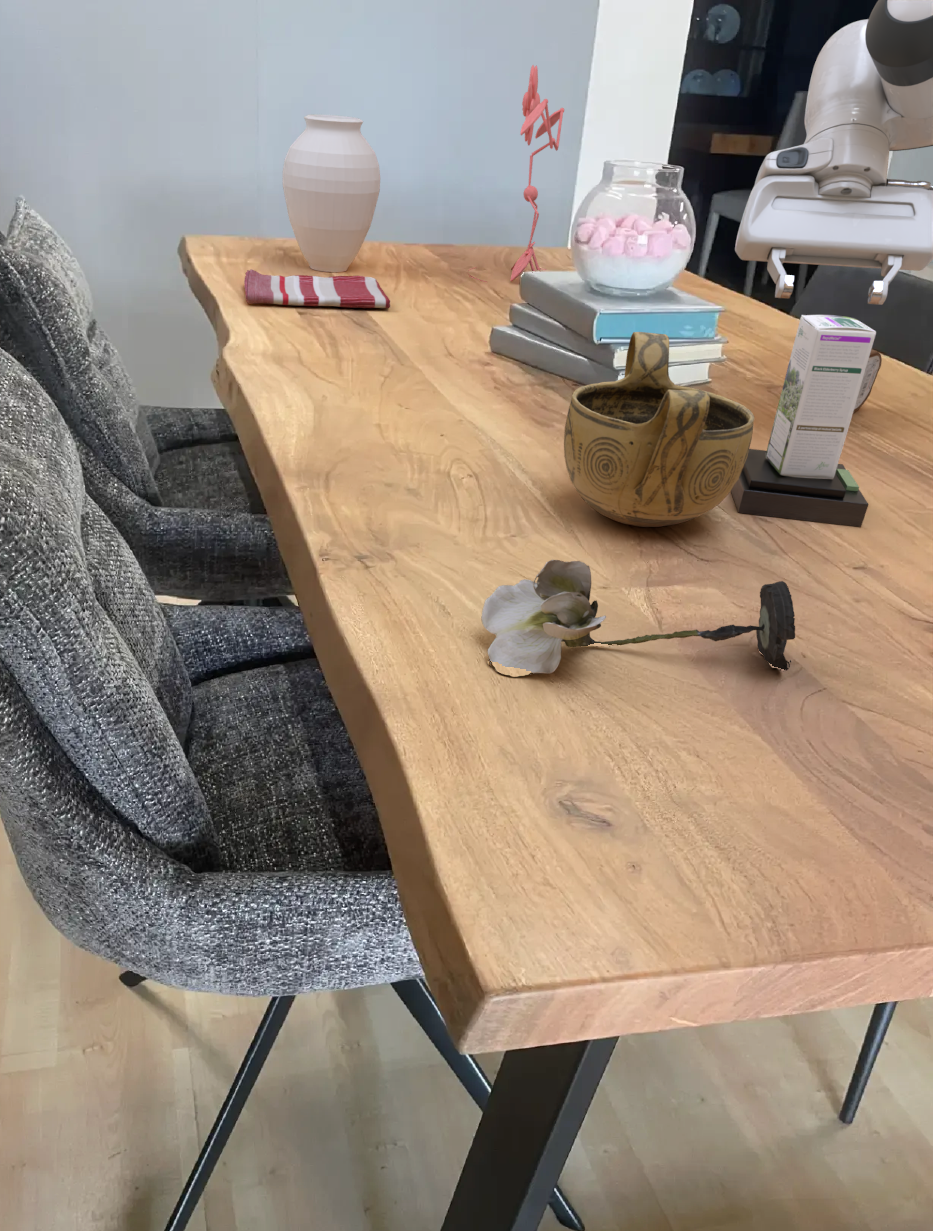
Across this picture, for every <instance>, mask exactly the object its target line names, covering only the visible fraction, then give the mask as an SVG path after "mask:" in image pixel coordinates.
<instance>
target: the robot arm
mask: <svg viewBox="0 0 933 1231" xmlns="http://www.w3.org/2000/svg"><path fill="white" fill-rule="evenodd" d="M814 62H815V63H814V65H813V68H812V73H811V77H810V81H809V85H808V91H807V96H806V103H805V110H804V111H805V112H804V128H805V132H806V137H805V140H804V142H803V144H799V145H796V146H792V147H788V148H783V149H778V150H774V151H771V152H769V153H768V154H766V156H765V157H764V159H763V161H762V163H761V165H760V167H759V170H758V172H757V175H756V178H755V181H754V185H753V187H752V190H751V191H750V194H749V197H748V199H747V201H746V204H745V208H744V210H743V213H742V217H741V220H740V224H739V227H738V231H737V235H736V240H735V247H734V252H735V253H736V255H737V256H738V258H739V259H740V260H742V261H750V262H751V261H754V262H767V264H766V265H767V267H766V269H767V272H768V274H769V276H770V278H771V279H772V281H773V282H774V285H775V292H774V298H778V299H790V298H791V295H792V294H793V291H794V282H795V275H792V274H791V275H790V274H787V271H786V270H785V268H784V265H783V264H784V263H786V264H801V265H819V266H833V267H836V266H837V267H850V268H865V269H880V270H881V273H880V276H881V277H883V279H882V280H873V281H872V283H871V286H870V287H869V288H868V291H867V292H868V293H867V294H868V295H867V296H868V298H867V304H868V305H879V306H880V305H881V306H883V305H884V303H885V302H886V300H887V298H888V291H889V285H890V284H891V282H893V280H894V279H895V278H896V276H897V275H898V273H899V271H900V270H901V271H916V272H918V271H922V270H924V269H925V268H926V267H927V266H929V265H930V263H931V262H932V261H933V185H932V184H931V182H930V181H927V180H917V181H915V180H914V181H913V180H905V179H898V178H897V179H895V178H888V170H889V158H890V152H896V151H897V152H901V151H909V150H916V149H923V148H930V147H933V0H877V1H876V3H875V5H874V7H873V9H872V10H871V12H870V15H869V17H868V18H867V19H860V20H857V21H853V22H851V23H848V24H847V25H844V26H843V27H841V28H840V29H839V30H837V31H836V32H834V33H833V34H832V35H831V36H830V37H829V38H828V40H826V42H825V44H824V45H823V47H822V48H821V50H820V51H819V53H818V55H817V57H816V61H814Z"/></svg>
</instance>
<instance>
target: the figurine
mask: <svg viewBox="0 0 933 1231" xmlns="http://www.w3.org/2000/svg"><path fill="white" fill-rule="evenodd" d="M538 69H539V68H538V66H537V65H534V64H532V65H531V67H530V73H529V78H528V79H529V80H528V87H527V91H526V92H525V93H524V94H523V98H522V103H521V105H522V109H521V110H522V115H523V117H525V119H524V122H523V124H522V126H521V129H520V134H519V135H520V136H523V135H524V142H525V143H527V146H530V145H531V144H532V139H533V134H534V127H535V125H534V124H535V123H536V122H537V121H538V120H539V118H541V119H542V123H541V124H540V126H539V127H538V129H537V131H536V132H535V133H536V134H535V136H534V138H535V139H538V138H540V137H541V136H542V135H544V134H545V133H546V134H547V135H548V143H545V144H543V146H541V147H539V148H537V149H536V150H534V151H533V152H531V154H530V155H529V169H528V172H529V173H528V185H527V186H526V188H524V190H523V198H524V200H525V201H526V202H528V203H530V204H531V206H532V208H533V211H534V214H533V219H532V226H531V230H530V237H529V241H528V244H527V249H526V250H525V251H524V252H523V253H522V254H521V255H520V256H519V258H518V259H517V260H516V261H515V263H514V264H513V265H512V267H511V268H510V270H511V276H510V280H509V281H510V282H511V283H512V282H513V281H514V280H516V279H517V278H518V277H519V276H521V274H522V273H523V272H524V271H525V269H527V267H528V265H529V266H530V268H531V272H532V271H535V272H536V271H537V270H540V271H541V270H544V271H546V270H547V268H541V267H539V266H540V265H539V263H538V260H537V256H536V254H535V250H534V245H535V244H536V242H535V241H533V237H534V234H535V230H536V227H537V224H538V220H539V216H540V213H539V211H538V204H537V203H536V200H537V199H538V196H539V193H538V192H539V191H538V189H537V187H536V186H534V185H532V173H533V161H534V156H536V155H537V154H539V153H540V152H541V151H543V150H544V149H546V148H548V147H549V148H550V150H552V149H553V148H554V150H555V151H556V152H557V151H558V150H559V146H560V139H561V130H562V125H563V117H564V112H565V108H564V107H560V108H559V109H558V110H556V111H554V112H552V114H550V112H549V106H548V104H549V99H548V98H544V99H543V101H541V96H540V94H539V92H538V88H539V75H538V74H539V70H538ZM544 111H545V112H544ZM557 123H558V129H557V135H556V139H555V138H554V137H553V135H552V128H553V127H554V126H555V125H556V124H557ZM532 241H533V242H532ZM532 259H533V260H532ZM477 268H478V267H477V266H476V267H475V266H474V267H472V268H470V269H468V271H467V272H469V271H471V270H473V269H477ZM467 275H468V278H472V279H474V280H478V281H481V282H483V283H484V282H485V283H487V280H482V279H479V278H477V277H474V276H472V275H471V274H469V273H467Z"/></svg>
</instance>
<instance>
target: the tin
mask: <svg viewBox="0 0 933 1231" xmlns="http://www.w3.org/2000/svg"><path fill="white" fill-rule="evenodd" d="M882 361H883V359H882V355H881V353H880V352H879V351H878V350H875V349H873V348H872V349H871V352H870V356H869V359H868V363H867V366H866V369H865V373H864V376H863V380H862V383H861V387H860V390H859V394H858V397H857V401H856V404H855V408H854V411H853V414H854V413H856V412H857V411H858V410H860V409H861V407H862V406H864V404H865V403H866V401H867V400H868V398H869V397H870V395H871V392H872V389H873V386H874V384H875V381H876V379H877V376H878V374H879V371H880V369H881V367H882Z"/></svg>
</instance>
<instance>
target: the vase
mask: <svg viewBox="0 0 933 1231" xmlns="http://www.w3.org/2000/svg"><path fill="white" fill-rule="evenodd" d="M303 119H304V121H305V129H304V130H303V131H302V132H301V133H300V134H299V136H297V138H296V139H295V140H294V141H293V142H292V144H291V145H290V146H289V147H288V150H287V153H286V156H285V158H284V162H283V167H282V188H283V189H282V190H283V194H284V200H285V204H286V210H287V215H288V216H287V217H288V219H289V223H290V226H291V229H292V232H293V234H294V237H295V240H296V242H297V244H298V247H299V250H300V252H301V253H302V255H303V257H304V259H305V260H306V262H307V264H308V266H309V268H310V269H311V270H314V271H318V272H325V273H326V272H327V273H343V272H346V271H348V269H349V267H350V266H351V265H352V263H353V262H354V260H355V259H356V257H357V256H358V254H359V252H360V250H361V248H362V246H363V244H364V242H365V240H366V237H367V235H368V233H369V231H370V228H371V226H372V222H373V217H374V215H375V211H376V207H377V203H378V200H379V195H380V190H381V171H380V164H379V161H378V158H377V154H376V151H375V150H374V149H373V148H372V146H371V145H370V143H369V142H368V140H367V139H366V138H365V137H364V136H363V134H362V131H361V128H362V125H363V123H364V121H363V120H362V119H361V118H359V117H355V116H346V115H337V114H322V113H321V114H320V113H319V114H318V113H317V114H315V113H311V114H306V115H305V116H303Z"/></svg>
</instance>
